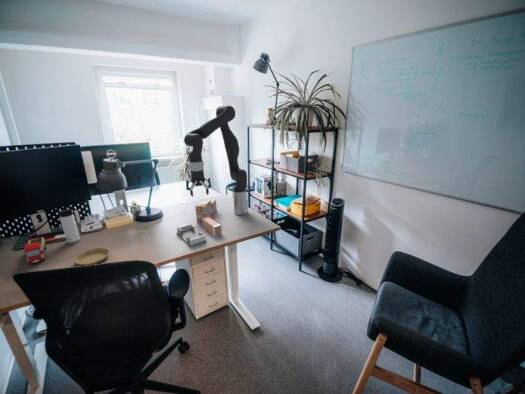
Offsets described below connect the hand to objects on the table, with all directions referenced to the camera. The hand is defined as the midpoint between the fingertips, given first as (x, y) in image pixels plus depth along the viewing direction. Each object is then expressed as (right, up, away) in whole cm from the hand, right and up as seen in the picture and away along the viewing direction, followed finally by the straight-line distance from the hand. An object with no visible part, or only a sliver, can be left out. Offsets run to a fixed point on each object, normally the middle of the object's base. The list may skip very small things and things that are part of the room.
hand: (199, 195), depth 148 cm
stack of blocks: (-2, -15, +29) cm, 33 cm away
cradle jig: (-5, -25, 0) cm, 26 cm away
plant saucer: (-49, -34, -22) cm, 64 cm away
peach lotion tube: (+6, -22, +8) cm, 24 cm away
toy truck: (-81, -33, -18) cm, 89 cm away
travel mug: (-73, -27, -4) cm, 78 cm away
